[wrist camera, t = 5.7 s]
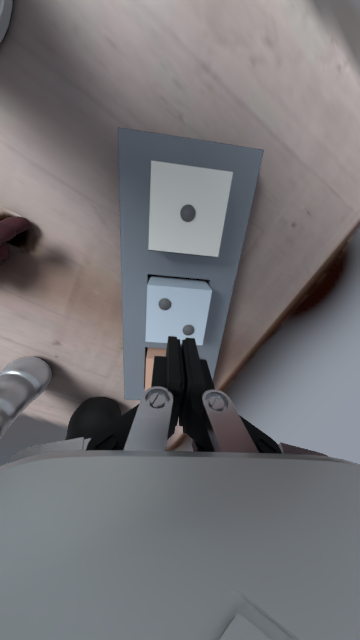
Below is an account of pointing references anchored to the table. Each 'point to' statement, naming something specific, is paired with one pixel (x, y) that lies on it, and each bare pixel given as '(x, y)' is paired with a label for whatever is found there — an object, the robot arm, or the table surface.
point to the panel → (142, 262)
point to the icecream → (10, 232)
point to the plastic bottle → (21, 387)
